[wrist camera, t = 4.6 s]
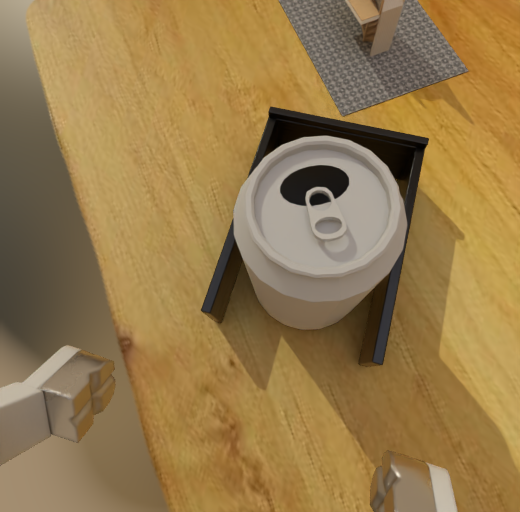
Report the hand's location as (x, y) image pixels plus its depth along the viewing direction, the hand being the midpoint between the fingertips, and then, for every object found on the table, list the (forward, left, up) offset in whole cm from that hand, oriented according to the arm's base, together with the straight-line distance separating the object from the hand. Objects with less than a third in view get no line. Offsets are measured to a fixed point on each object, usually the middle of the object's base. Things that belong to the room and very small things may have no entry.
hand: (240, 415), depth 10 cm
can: (+7, +4, -14) cm, 16 cm away
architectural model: (+26, +18, -14) cm, 34 cm away
